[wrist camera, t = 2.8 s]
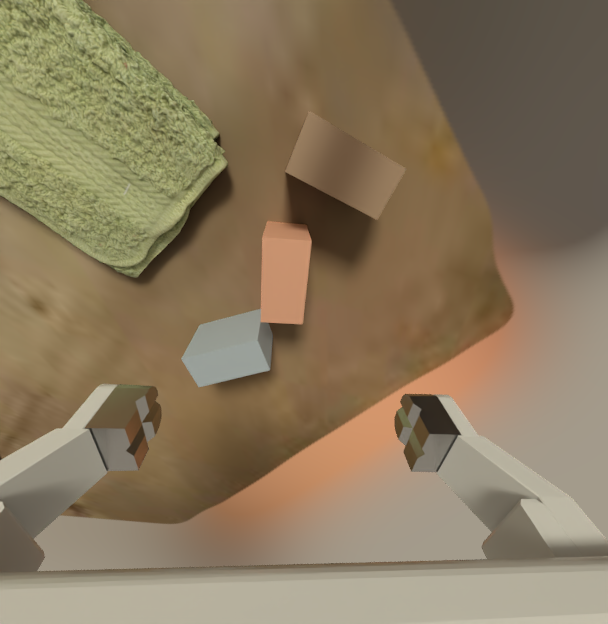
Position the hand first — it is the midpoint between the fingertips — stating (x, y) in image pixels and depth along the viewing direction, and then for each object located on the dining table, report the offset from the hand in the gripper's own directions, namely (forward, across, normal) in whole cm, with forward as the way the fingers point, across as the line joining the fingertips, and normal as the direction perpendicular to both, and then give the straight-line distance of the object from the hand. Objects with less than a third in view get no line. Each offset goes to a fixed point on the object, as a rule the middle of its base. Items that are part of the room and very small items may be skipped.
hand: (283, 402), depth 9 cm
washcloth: (+16, +14, -8) cm, 23 cm away
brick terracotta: (+15, 0, 0) cm, 15 cm away
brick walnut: (+15, -3, -7) cm, 17 cm away
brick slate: (+15, +4, +7) cm, 17 cm away
